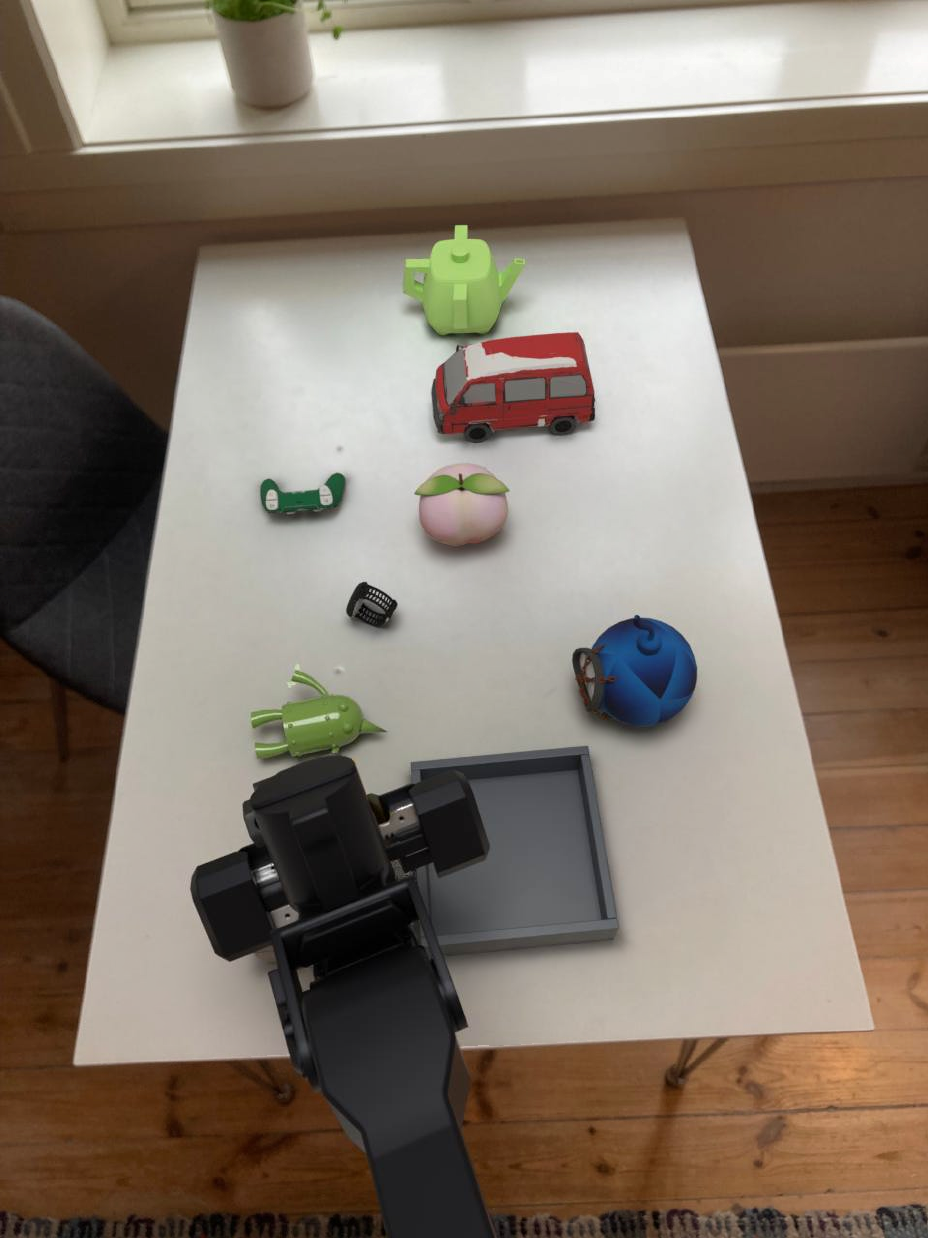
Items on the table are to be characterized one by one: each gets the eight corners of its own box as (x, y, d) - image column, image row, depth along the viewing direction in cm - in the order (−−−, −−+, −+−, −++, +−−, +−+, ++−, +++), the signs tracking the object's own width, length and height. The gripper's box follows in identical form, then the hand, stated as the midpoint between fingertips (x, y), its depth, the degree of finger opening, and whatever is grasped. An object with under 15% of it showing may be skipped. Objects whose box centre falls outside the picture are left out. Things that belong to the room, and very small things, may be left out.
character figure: (237, 672, 81) (370, 645, 82) (248, 676, 86) (373, 651, 87) (261, 802, 79) (395, 773, 80) (270, 799, 85) (397, 772, 85)
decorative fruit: (500, 497, 99) (499, 433, 91) (513, 557, 95) (515, 496, 87) (415, 509, 99) (406, 447, 90) (425, 571, 95) (417, 511, 86)
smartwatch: (371, 594, 93) (365, 566, 89) (405, 624, 91) (400, 597, 87) (341, 618, 92) (333, 591, 88) (374, 649, 90) (368, 623, 86)
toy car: (433, 391, 108) (427, 324, 100) (589, 387, 107) (596, 319, 99) (432, 448, 103) (425, 383, 95) (594, 445, 103) (602, 379, 94)
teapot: (462, 361, 110) (459, 295, 102) (398, 318, 115) (390, 251, 107) (528, 313, 115) (530, 245, 106) (463, 273, 119) (460, 205, 111)
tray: (613, 940, 75) (619, 928, 71) (424, 958, 75) (420, 947, 71) (584, 763, 83) (588, 745, 79) (414, 779, 83) (410, 761, 79)
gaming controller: (266, 512, 102) (257, 519, 96) (262, 478, 101) (251, 483, 95) (349, 505, 102) (344, 512, 96) (345, 470, 101) (339, 475, 95)
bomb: (559, 664, 88) (569, 578, 75) (667, 642, 89) (694, 553, 76) (588, 756, 83) (603, 680, 70) (701, 731, 84) (737, 652, 71)
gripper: (468, 737, 52) (419, 672, 67) (145, 858, 49) (169, 761, 64) (520, 903, 55) (462, 805, 70) (218, 1027, 52) (224, 896, 67)
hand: (332, 814), depth 67 cm, fingers closed on puzzle block, 5 cm apart
